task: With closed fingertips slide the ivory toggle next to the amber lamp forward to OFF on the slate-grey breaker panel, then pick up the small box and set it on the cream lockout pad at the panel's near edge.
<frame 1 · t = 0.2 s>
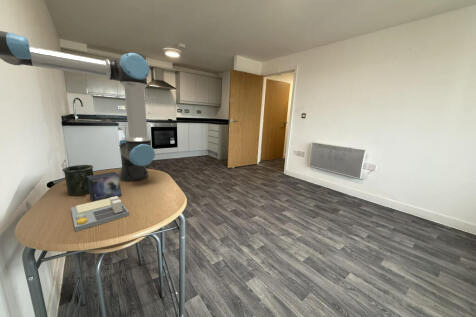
mug: (82, 193, 87), on the table
small box: (106, 197, 83), on the table
toggle A: (117, 206, 67), point 4 cm above the table, slide at 0.0 cm
breaker panel: (100, 213, 69), on the table
toggle B: (114, 202, 69), point 4 cm above the table, slide at 0.0 cm
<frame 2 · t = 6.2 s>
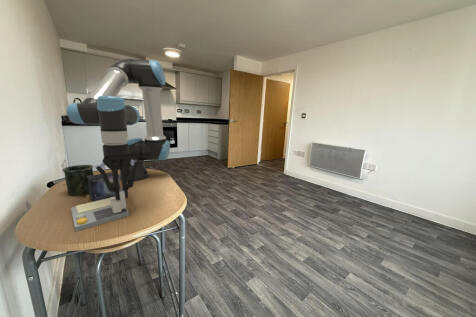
hand: (122, 207, 68), 3 cm above the table, fingers closed
toggle A: (116, 206, 66), point 4 cm above the table, slide at 0.2 cm, touching gripper
everything else where it was.
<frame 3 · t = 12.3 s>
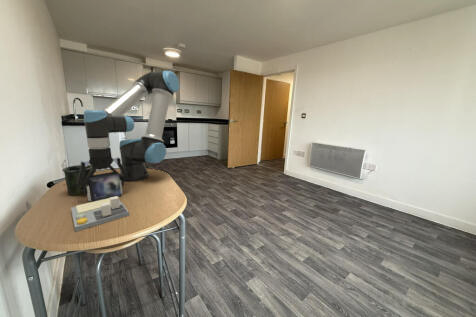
hand: (106, 196, 82), 1 cm above the table, fingers closed on small box, 11 cm apart
small box: (106, 197, 83), on the table, touching gripper
toggle A: (105, 209, 64), point 4 cm above the table, slide at 3.4 cm
everything else where it was.
when the fingers open (4 cm above the table, at t = 17.5 s): small box drops 1 cm, resting on breaker panel.
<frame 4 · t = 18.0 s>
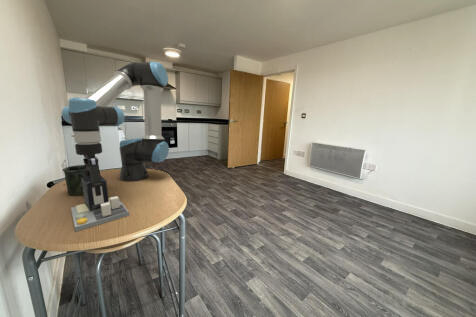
hand: (96, 197, 71), 5 cm above the table, fingers open, 13 cm apart
small box: (97, 204, 72), point 2 cm above the table, touching breaker panel
everything else where it was.
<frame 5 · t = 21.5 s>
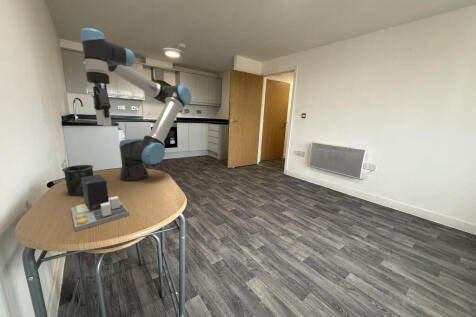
hand: (104, 125, 80), 32 cm above the table, fingers open, 13 cm apart
nothing on the table moved.
at the end: toggle A slide at 3.4 cm; small box inside the target area (0.6 cm from its centre), point 1.7 cm above the table; small box tilted 0° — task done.
